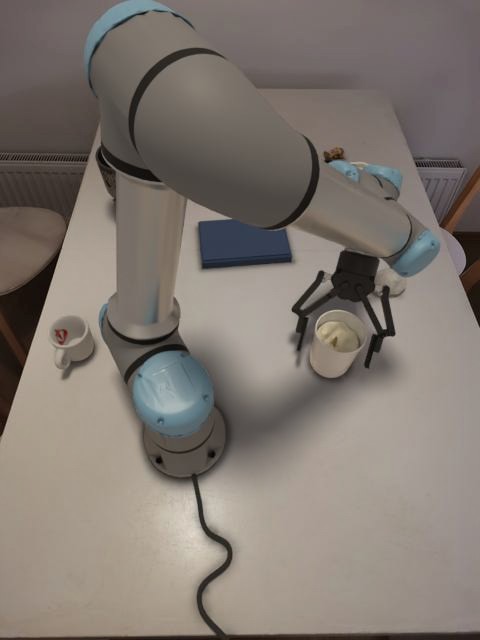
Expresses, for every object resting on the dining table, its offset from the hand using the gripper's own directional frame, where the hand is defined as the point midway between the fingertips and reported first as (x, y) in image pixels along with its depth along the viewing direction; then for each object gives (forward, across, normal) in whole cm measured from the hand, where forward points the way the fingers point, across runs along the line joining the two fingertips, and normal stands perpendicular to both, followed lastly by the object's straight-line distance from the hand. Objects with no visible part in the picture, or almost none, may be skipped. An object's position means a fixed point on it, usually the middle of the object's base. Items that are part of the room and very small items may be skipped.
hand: (332, 358), depth 86 cm
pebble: (-14, -10, -22) cm, 28 cm away
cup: (+12, +52, +5) cm, 53 cm away
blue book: (-17, +26, -24) cm, 40 cm away
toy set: (-44, +10, -52) cm, 69 cm away
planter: (-19, +57, -27) cm, 66 cm away
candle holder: (+2, 0, -5) cm, 6 cm away
